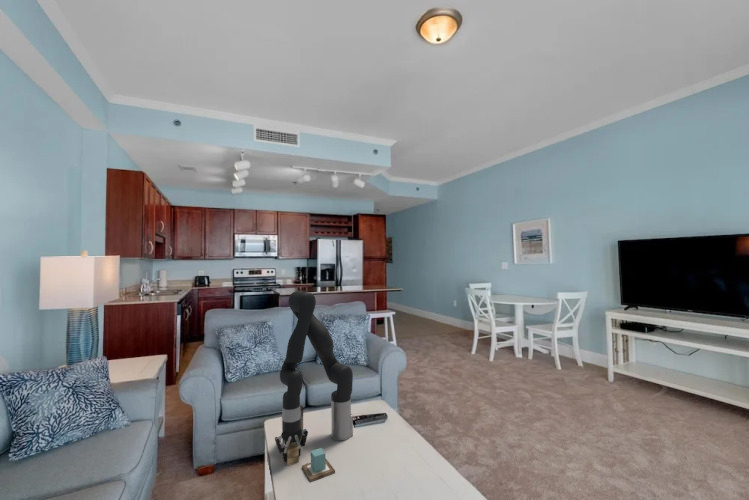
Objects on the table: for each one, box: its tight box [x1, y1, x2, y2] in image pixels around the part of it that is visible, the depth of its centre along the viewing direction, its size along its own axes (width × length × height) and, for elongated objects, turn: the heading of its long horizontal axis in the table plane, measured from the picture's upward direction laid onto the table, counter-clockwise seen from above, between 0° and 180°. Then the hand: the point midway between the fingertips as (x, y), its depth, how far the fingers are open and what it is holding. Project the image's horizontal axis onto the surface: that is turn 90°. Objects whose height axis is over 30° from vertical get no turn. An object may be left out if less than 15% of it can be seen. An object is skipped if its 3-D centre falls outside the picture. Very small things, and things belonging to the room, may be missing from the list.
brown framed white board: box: [301, 458, 336, 483], centre depth 132 cm, size 10×10×1 cm
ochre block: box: [285, 442, 300, 466], centre depth 139 cm, size 4×4×6 cm
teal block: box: [310, 447, 327, 472], centre depth 132 cm, size 4×4×6 cm
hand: (291, 458), depth 139 cm, fingers closed on ochre block, 4 cm apart
